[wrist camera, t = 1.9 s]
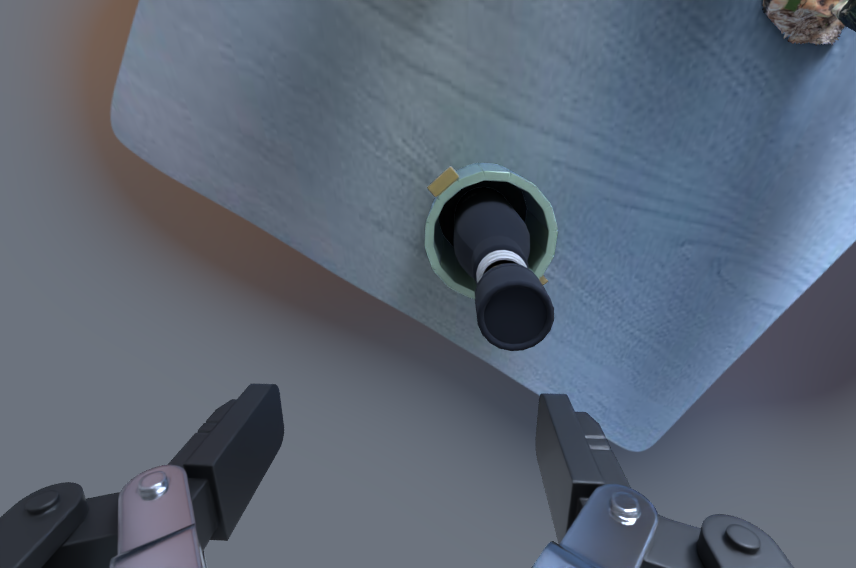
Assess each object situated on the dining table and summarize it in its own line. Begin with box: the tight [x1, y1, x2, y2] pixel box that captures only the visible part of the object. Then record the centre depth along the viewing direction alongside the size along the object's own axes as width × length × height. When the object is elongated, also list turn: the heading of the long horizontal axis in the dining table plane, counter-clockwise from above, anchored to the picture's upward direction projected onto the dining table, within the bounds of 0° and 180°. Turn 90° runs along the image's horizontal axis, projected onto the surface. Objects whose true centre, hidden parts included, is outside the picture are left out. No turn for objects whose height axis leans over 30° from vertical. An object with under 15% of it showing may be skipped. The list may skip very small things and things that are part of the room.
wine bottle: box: [454, 187, 554, 351], centre depth 36 cm, size 6×6×30 cm
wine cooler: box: [424, 162, 558, 299], centre depth 44 cm, size 12×14×12 cm
